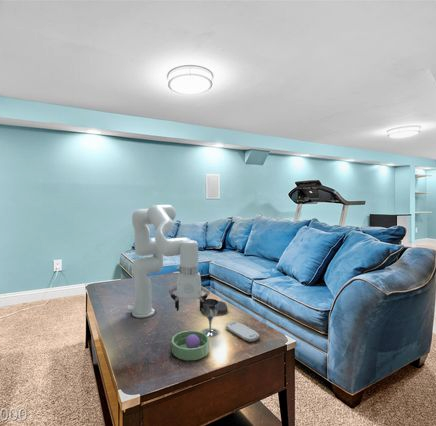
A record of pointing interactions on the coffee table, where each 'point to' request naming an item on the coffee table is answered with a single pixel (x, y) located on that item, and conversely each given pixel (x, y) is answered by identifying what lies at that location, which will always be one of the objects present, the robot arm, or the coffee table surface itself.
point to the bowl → (189, 353)
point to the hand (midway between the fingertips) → (189, 309)
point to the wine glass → (210, 314)
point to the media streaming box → (221, 308)
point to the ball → (192, 341)
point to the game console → (242, 331)
